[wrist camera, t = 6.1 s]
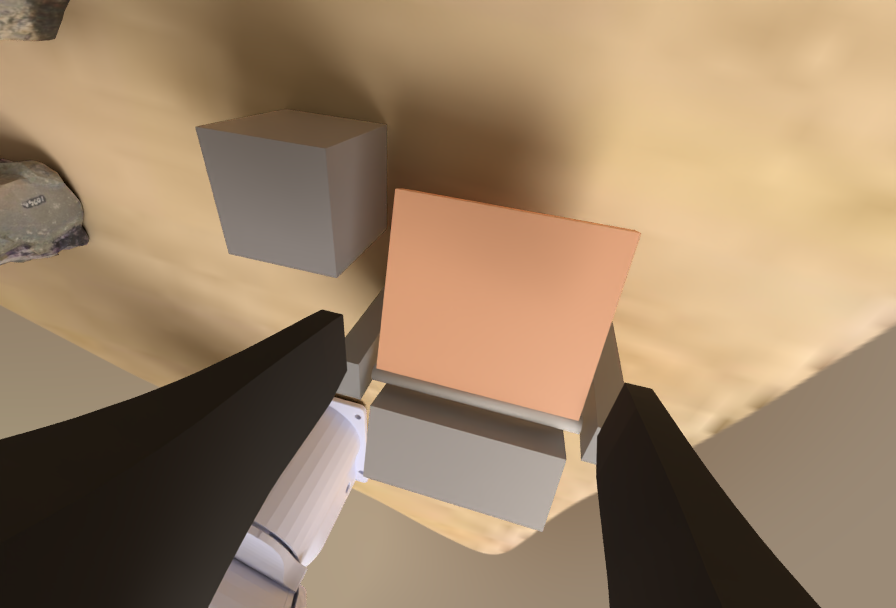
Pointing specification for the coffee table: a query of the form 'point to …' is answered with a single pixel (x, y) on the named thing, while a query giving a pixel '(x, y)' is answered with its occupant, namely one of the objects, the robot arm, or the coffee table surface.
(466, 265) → the trapdoor
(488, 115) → the coffee table surface
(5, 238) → the mineral rock
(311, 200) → the gray cube
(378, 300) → the frame
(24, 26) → the stone block
